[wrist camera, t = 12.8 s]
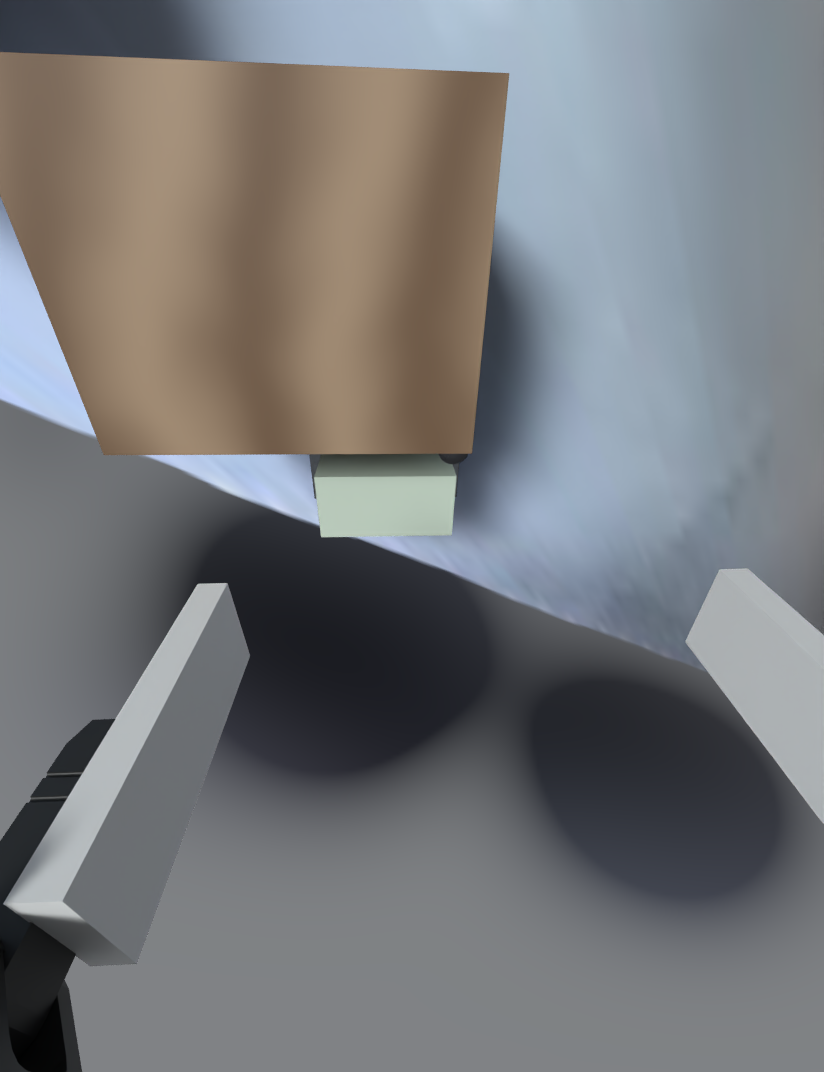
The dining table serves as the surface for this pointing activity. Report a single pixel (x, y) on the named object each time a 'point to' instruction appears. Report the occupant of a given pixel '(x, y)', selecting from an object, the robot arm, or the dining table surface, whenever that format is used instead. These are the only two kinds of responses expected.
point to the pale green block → (384, 495)
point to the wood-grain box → (258, 247)
